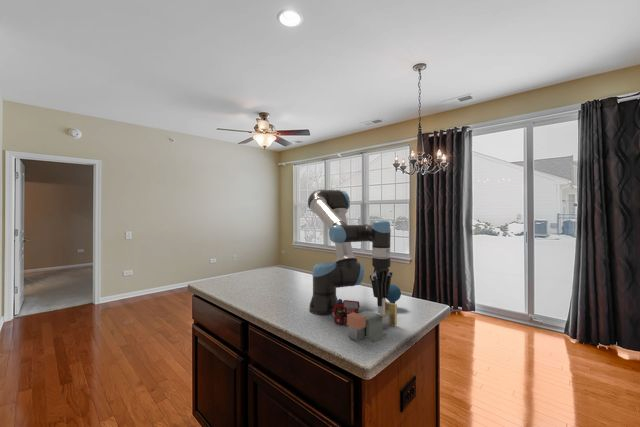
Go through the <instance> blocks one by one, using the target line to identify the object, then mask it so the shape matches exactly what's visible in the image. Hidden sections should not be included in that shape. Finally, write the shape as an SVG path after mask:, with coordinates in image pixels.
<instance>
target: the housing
mask: <svg viewBox="0 0 640 427" xmlns="http://www.w3.org/2000/svg"><path fill="white" fill-rule="evenodd" d="M359 314H360V315H363V316H366V337H365V338H366V340H370V341H372V342H377V341H380V340H381V339H384V338H386V337H388V333H387V332H384V331H383V329H382V316H381V315H378V314H379V313H375V312H371V311H368V310H364V311H362V312H359Z"/></svg>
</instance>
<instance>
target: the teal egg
mask: <svg viewBox="0 0 640 427" xmlns="http://www.w3.org/2000/svg"><path fill="white" fill-rule="evenodd" d="M387 296H388V298H385V300H387V302H390V303H394V304H396V302H397V301H398V300H400V299H401V296H402V292H401V289H400V288H399V286H398V285H396V284H390V290H389V295H387Z"/></svg>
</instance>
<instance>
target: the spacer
mask: <svg viewBox="0 0 640 427" xmlns="http://www.w3.org/2000/svg"><path fill="white" fill-rule="evenodd" d="M347 325H348V326H347ZM347 325H346V326H347V327H349V326H351V327H353V328H356V329H358V330H359V329H362V328H364V327H366V316H363V315H360V314H358V313H355V312H353V313H350V314H347Z"/></svg>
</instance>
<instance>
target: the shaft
mask: <svg viewBox="0 0 640 427" xmlns="http://www.w3.org/2000/svg"><path fill="white" fill-rule="evenodd" d="M397 308H398V304H396V303H395V304H394V303H390V302H389V301H386V304H385V314H380V313H377V314H378V315H381V316H382V330H384V329H386V328H389V327H391V326H392V327H397V326H398V311H397V310H398V309H397ZM348 338H349V339H352V340H354V341H357V342H358V341H359V340H362V339H364V338H366V327H364V328H362V329H359V330H358V329H356V328H353V327H351V326H348Z"/></svg>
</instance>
